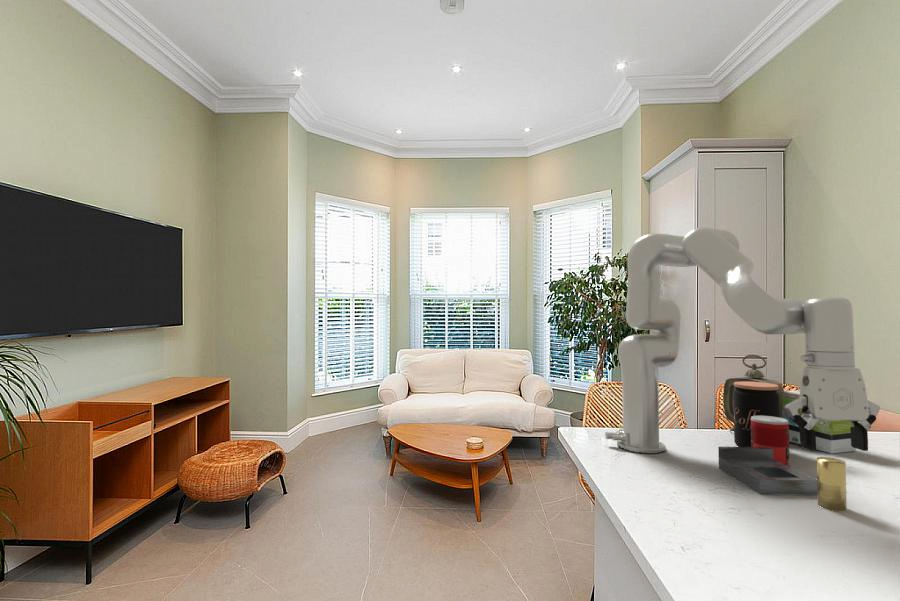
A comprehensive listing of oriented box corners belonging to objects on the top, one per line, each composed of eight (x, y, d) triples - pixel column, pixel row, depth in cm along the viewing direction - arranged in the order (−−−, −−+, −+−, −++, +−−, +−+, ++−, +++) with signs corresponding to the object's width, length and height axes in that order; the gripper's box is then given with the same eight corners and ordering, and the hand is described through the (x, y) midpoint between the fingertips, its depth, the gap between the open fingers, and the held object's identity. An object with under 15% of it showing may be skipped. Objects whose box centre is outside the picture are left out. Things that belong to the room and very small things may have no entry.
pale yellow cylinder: (829, 511, 89) (828, 463, 90) (812, 502, 94) (811, 456, 94) (852, 511, 89) (851, 463, 90) (834, 502, 94) (833, 457, 94)
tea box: (777, 439, 140) (777, 390, 141) (802, 437, 143) (801, 388, 144) (831, 454, 126) (831, 398, 126) (858, 451, 129) (857, 397, 129)
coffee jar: (725, 446, 134) (725, 382, 134) (749, 441, 138) (748, 380, 139) (764, 456, 124) (763, 388, 125) (788, 451, 129) (787, 385, 129)
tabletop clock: (723, 432, 149) (722, 353, 150) (740, 429, 153) (739, 352, 154) (772, 443, 136) (771, 357, 137) (789, 440, 141) (788, 356, 141)
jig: (760, 494, 98) (759, 468, 98) (718, 469, 114) (718, 446, 114) (819, 495, 98) (818, 468, 98) (769, 469, 114) (768, 447, 114)
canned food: (795, 468, 115) (794, 422, 115) (759, 465, 116) (758, 421, 117) (780, 458, 122) (779, 416, 123) (746, 456, 124) (745, 414, 124)
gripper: (798, 362, 89) (802, 454, 88) (892, 362, 88) (897, 454, 87) (772, 359, 96) (775, 444, 95) (859, 359, 96) (863, 444, 95)
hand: (834, 449), depth 91 cm, fingers open, 9 cm apart
